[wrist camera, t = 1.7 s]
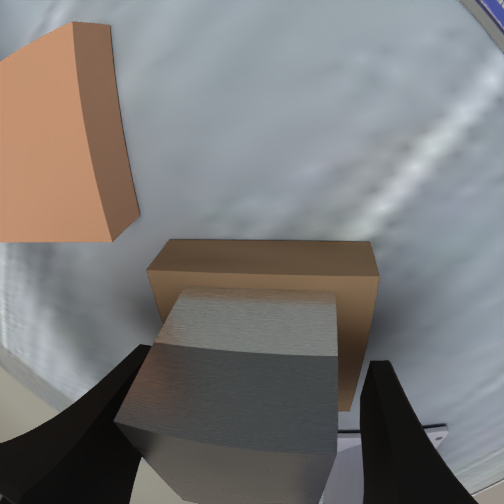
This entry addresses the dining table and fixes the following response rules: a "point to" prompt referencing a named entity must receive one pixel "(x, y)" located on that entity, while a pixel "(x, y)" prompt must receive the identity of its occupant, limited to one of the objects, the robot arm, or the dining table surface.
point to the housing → (240, 396)
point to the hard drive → (489, 17)
